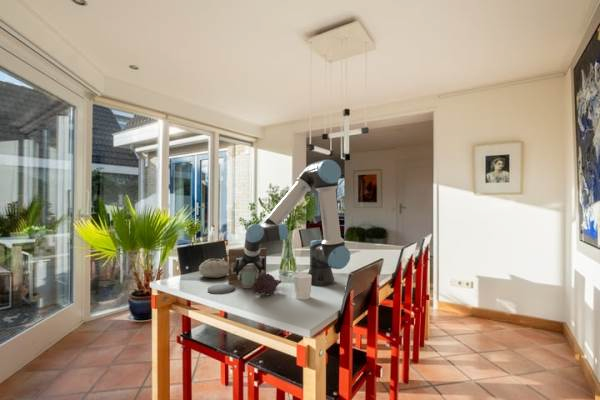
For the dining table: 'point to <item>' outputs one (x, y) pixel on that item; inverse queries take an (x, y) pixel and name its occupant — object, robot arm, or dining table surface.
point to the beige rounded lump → (214, 268)
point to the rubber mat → (221, 289)
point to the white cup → (303, 286)
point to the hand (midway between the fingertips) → (247, 276)
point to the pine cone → (265, 284)
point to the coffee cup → (248, 275)
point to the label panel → (232, 258)
